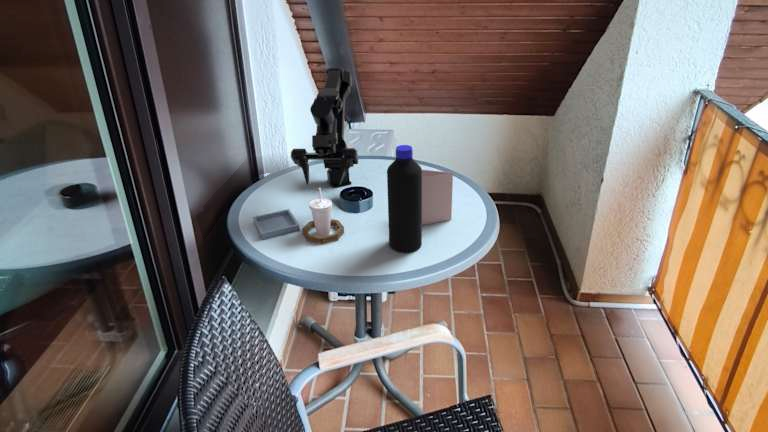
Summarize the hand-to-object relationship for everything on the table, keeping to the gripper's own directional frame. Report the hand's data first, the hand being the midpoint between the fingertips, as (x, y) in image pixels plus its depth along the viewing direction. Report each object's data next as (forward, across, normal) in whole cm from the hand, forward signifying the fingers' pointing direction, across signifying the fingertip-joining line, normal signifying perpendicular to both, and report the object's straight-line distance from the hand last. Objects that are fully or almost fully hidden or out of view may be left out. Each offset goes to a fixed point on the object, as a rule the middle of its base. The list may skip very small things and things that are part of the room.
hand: (323, 184), depth 153 cm
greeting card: (+8, +30, +10) cm, 33 cm away
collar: (+13, 0, +4) cm, 14 cm away
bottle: (+17, +23, +1) cm, 29 cm away
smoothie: (+13, 0, +5) cm, 14 cm away
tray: (+11, -14, +7) cm, 19 cm away
